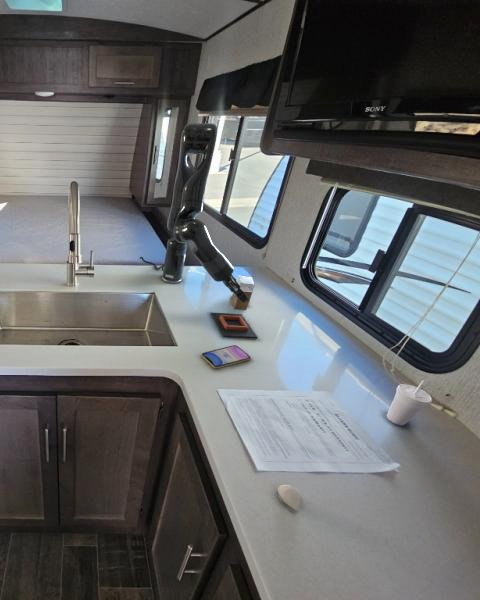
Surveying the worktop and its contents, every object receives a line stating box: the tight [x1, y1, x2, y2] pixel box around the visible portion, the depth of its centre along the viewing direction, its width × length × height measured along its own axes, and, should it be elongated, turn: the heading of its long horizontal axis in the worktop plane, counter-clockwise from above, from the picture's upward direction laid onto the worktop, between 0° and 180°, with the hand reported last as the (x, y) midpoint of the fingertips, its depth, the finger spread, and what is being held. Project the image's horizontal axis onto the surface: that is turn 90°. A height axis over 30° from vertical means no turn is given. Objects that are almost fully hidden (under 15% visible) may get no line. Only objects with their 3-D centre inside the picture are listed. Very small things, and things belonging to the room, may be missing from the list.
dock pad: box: [210, 312, 258, 340], centre depth 122 cm, size 16×12×2 cm
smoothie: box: [386, 379, 433, 426], centre depth 81 cm, size 6×6×14 cm
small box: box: [236, 275, 255, 306], centre depth 137 cm, size 8×6×10 cm
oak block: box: [229, 286, 253, 311], centre depth 117 cm, size 4×4×8 cm
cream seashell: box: [276, 483, 302, 512], centre depth 65 cm, size 4×5×2 cm
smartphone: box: [200, 344, 252, 369], centre depth 105 cm, size 8×15×1 cm, turn 110°
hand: (242, 297), depth 116 cm, fingers closed on oak block, 4 cm apart
